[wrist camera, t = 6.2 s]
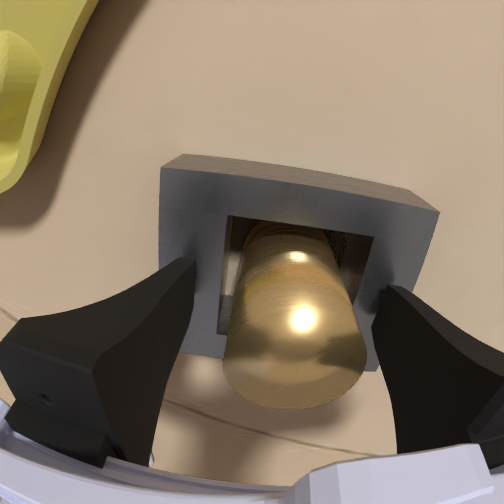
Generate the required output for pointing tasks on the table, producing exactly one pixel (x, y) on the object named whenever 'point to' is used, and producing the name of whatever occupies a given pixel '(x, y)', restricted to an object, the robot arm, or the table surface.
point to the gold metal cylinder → (291, 321)
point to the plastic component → (33, 73)
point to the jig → (293, 212)
